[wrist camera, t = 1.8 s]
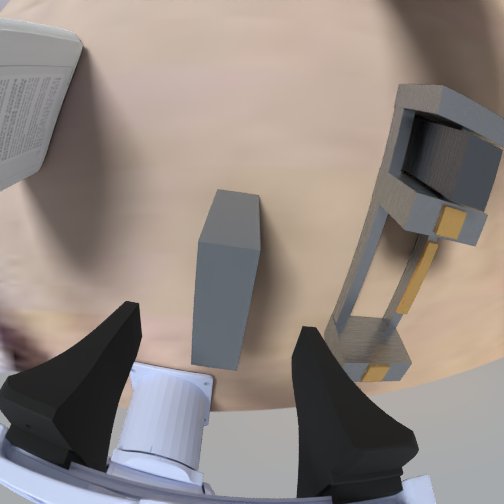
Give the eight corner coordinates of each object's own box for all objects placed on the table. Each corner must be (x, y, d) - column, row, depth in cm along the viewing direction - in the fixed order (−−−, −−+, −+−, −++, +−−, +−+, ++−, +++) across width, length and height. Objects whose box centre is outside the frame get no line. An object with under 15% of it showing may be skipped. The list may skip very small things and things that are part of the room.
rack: (382, 336, 24) (404, 390, 19) (324, 333, 24) (338, 392, 19) (465, 112, 15) (525, 128, 10) (398, 83, 15) (455, 86, 10)
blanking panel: (241, 295, 22) (236, 370, 16) (206, 290, 22) (191, 364, 16) (258, 195, 19) (260, 250, 12) (217, 189, 18) (198, 241, 12)
